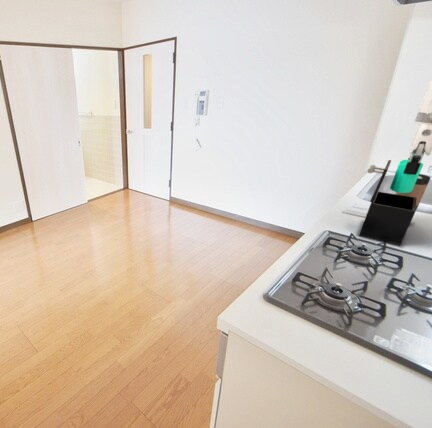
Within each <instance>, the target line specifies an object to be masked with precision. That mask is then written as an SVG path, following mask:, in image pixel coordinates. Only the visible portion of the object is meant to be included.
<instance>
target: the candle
mask: <svg viewBox="0 0 432 428" xmlns="http://www.w3.org/2000/svg"><path fill="white" fill-rule="evenodd" d="M407 162H409V160H408V159H402V160H399V163H398V165H397V168H396V170H395V173H394V176H393V179H392V182H391V184H390V187H389V189H390V190H391V191H393V192H395V193H396V192H398V193H409V192H412V190H413V188H414V185H415V183H416V181H417V178H418V176H419V174H421V171H422V169H423V166H424V163H423V162H422V161H421V162H420V163H421V164H420V167H419V169H418V172H417V174H416V175H411V174H404V173H403V172H404V170H405V167H406V165H407Z"/></svg>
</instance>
